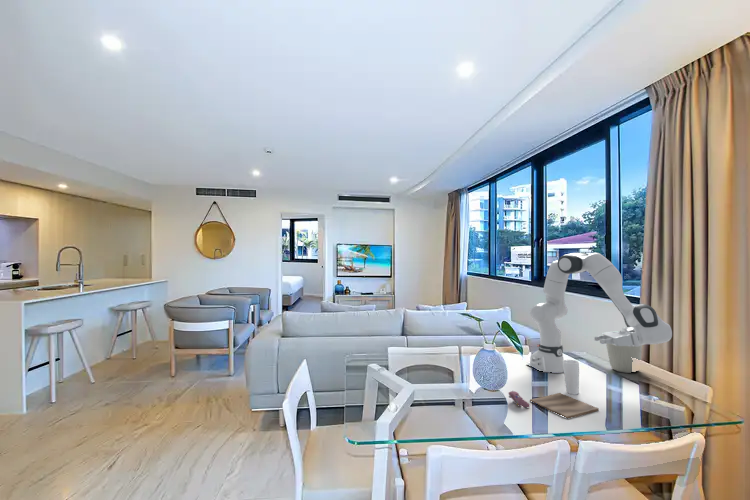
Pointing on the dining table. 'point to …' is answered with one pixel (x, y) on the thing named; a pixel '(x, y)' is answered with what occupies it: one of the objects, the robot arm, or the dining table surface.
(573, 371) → the drinking glass
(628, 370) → the canister
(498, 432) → the dining table surface
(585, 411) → the walnut board
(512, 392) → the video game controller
